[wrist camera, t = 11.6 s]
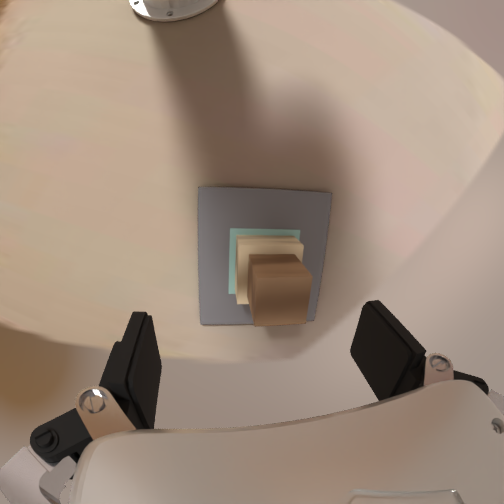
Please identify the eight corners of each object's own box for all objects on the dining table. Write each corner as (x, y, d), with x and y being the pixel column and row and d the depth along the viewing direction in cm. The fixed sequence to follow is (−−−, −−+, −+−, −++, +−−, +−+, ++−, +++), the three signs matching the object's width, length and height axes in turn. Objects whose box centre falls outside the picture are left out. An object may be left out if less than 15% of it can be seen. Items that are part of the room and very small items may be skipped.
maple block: (236, 234, 32) (239, 245, 29) (293, 235, 33) (303, 245, 29) (234, 288, 35) (237, 304, 31) (288, 287, 35) (296, 302, 32)
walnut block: (248, 254, 29) (257, 277, 23) (294, 254, 30) (312, 276, 24) (247, 296, 31) (254, 326, 25) (290, 295, 31) (305, 323, 26)
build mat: (198, 186, 30) (198, 187, 30) (330, 192, 33) (332, 193, 32) (200, 322, 36) (200, 324, 36) (313, 318, 38) (314, 320, 38)
